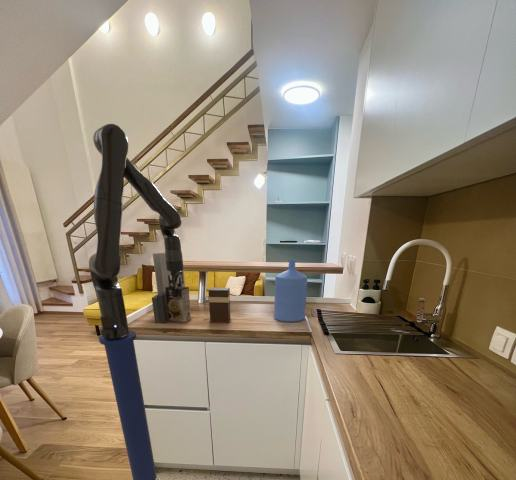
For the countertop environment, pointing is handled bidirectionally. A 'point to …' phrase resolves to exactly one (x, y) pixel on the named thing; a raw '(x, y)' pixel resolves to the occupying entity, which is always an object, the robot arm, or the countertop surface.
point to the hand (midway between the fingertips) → (177, 295)
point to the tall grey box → (162, 272)
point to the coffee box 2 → (219, 304)
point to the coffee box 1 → (178, 304)
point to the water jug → (290, 295)
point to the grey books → (160, 308)
